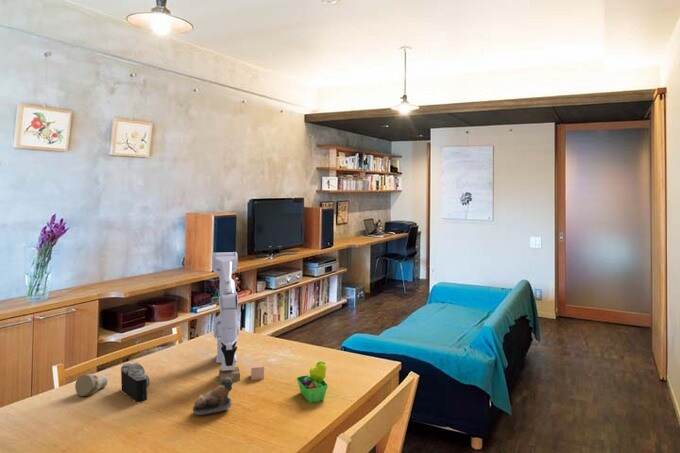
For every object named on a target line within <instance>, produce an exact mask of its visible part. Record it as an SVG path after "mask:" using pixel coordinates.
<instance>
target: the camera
mask: <svg viewBox="0 0 680 453" xmlns="http://www.w3.org/2000/svg"><path fill="white" fill-rule="evenodd" d="M120 373H121V374H120V377H121V378H120V380H121V381H120V382H121V390H122V391H123V392H124V394H125V393H126V394H127V395H128V397H129V396H130V397H131V398H130V397H129V398H130V399H131V400H133V401H134V400H135V402H136V403H137V402H139V403H144V402H145V400H146V401H147V400H148V387H149V386H150V383H151V382H150V378H149V375H148V374H146V372H145V368H144V367H143V365H141V364H140V363H139V362H134V363H128V362H127V363H124V364H123V365H122V366H121V367H120ZM122 391H121V392H122ZM123 392H122V393H123ZM126 394H125V395H126ZM127 395H126V396H127ZM143 401H144V402H143Z"/></svg>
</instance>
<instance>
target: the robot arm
mask: <svg viewBox="0 0 680 453" xmlns="http://www.w3.org/2000/svg"><path fill="white" fill-rule="evenodd" d="M238 259H239V258H238V253H237V251H233V252H232V251H231V252H229V251H228V252H213V253H212V270H213V274H217V275H218V277H219V297H218V306H219V307H218V308H219V314H218V315H216V317H215V318H214V320H213V337H214V339H216V351H217V352H216V353H217V354H216V356H215V357H216V360H215V363H216V364H219V363H220V364H222V354H224V357H225V363H226V366H232V365H233V359H234V356H235V362H237V361H238V360H237V358H238V357H237V352H236V351H237V350H238V346H236V344H237V342H238V336H239V334H240V333H239V332H240V329H239V328H240V326H239V319H238V314H237V310H238V309H239V307H238V306H239V298H238V297H239V296H238V292H237V291H236V282H235V280H234V279H232V274H234V273H235V272H237V268H238V265H239V263H238V261H239V260H238Z"/></svg>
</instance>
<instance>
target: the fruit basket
mask: <svg viewBox="0 0 680 453" xmlns="http://www.w3.org/2000/svg"><path fill="white" fill-rule="evenodd" d="M326 371H327V366H326V362H324V361H323V360H318V362H317V363H316V364H315V365H314V366H312V367H311V368H310V369H309V374H306V375H301V376H297V377H296V381H297V383H298V387H299V391H300V393H301V395H302V396H303V397H304V398H305V400H306V401H307V402H308V403H309V404H311V403H315V402H320V401H325V398H326V392H327V389H328V387H329V384H328V383H327V382H326V381H325V378H326V377H327V376H326V375H327V372H326Z"/></svg>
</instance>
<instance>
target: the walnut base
mask: <svg viewBox="0 0 680 453" xmlns="http://www.w3.org/2000/svg"><path fill="white" fill-rule="evenodd" d="M218 372H219V373H218V374H219V376H218V377H219V383H221V382H222V377H223V378H225V377H229V378H232V377H233V379H232V382H236V381H241V372H240V367H239V366H237V365H235V370H225V371H222V367H219V368H218ZM231 376H232V377H231Z"/></svg>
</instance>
